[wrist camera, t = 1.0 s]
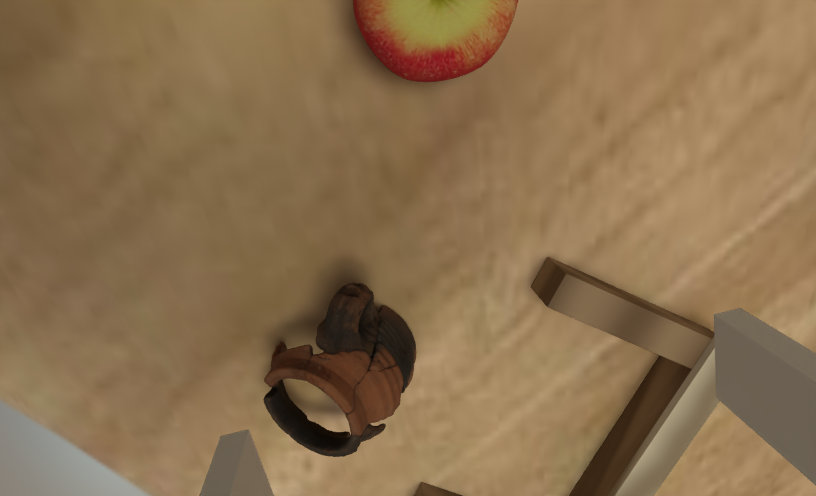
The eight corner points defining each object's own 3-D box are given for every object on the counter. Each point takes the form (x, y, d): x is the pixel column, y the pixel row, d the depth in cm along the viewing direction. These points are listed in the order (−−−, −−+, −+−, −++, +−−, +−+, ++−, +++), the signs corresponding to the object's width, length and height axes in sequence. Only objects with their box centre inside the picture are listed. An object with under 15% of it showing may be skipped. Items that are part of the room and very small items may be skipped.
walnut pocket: (407, 508, 43) (411, 550, 39) (549, 254, 37) (571, 274, 33) (561, 557, 46) (579, 601, 42) (713, 328, 40) (751, 355, 36)
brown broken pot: (423, 398, 40) (376, 487, 34) (315, 360, 43) (253, 436, 37) (433, 266, 34) (378, 346, 28) (307, 233, 37) (229, 298, 30)
